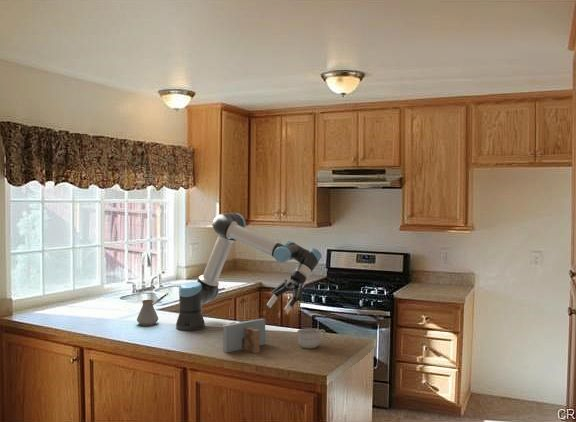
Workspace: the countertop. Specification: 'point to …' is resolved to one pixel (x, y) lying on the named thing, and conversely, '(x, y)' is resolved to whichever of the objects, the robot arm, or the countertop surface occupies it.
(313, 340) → the teacup
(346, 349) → the countertop surface
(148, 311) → the coffee pot
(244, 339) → the walnut board
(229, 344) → the slate plate
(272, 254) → the robot arm
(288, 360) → the countertop surface
